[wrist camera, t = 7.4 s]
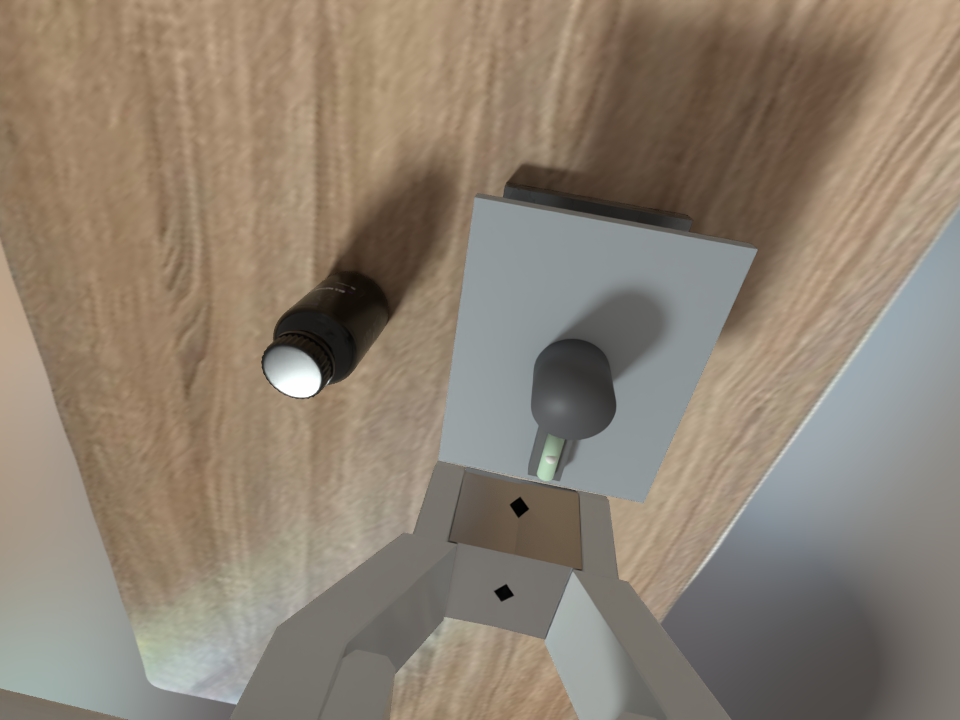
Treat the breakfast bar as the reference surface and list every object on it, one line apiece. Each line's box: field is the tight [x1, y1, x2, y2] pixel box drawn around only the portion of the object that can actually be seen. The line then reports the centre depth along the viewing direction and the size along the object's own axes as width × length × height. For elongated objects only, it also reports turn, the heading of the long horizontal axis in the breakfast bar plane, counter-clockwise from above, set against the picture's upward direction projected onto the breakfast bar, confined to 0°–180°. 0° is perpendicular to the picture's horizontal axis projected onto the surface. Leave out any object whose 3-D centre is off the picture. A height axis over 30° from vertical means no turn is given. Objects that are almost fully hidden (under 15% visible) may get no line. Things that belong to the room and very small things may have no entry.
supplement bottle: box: [261, 272, 389, 399], centre depth 40 cm, size 7×7×12 cm
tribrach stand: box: [503, 182, 693, 232], centre depth 38 cm, size 18×14×9 cm
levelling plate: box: [438, 193, 758, 503], centre depth 31 cm, size 20×16×6 cm
